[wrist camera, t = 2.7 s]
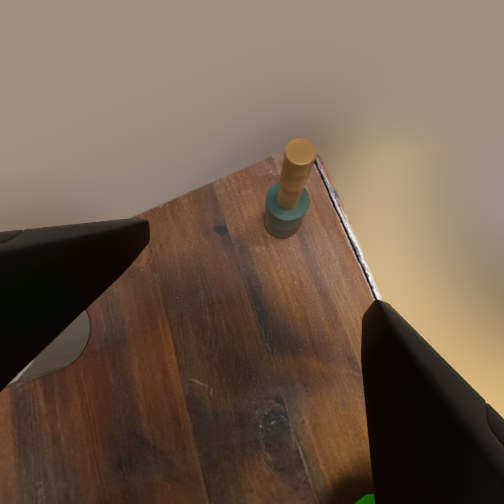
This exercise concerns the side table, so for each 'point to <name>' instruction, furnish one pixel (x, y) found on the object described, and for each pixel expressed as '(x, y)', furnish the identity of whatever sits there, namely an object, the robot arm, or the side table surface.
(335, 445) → the side table surface
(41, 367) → the white cylindrical cup
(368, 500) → the ornament
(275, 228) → the brush
